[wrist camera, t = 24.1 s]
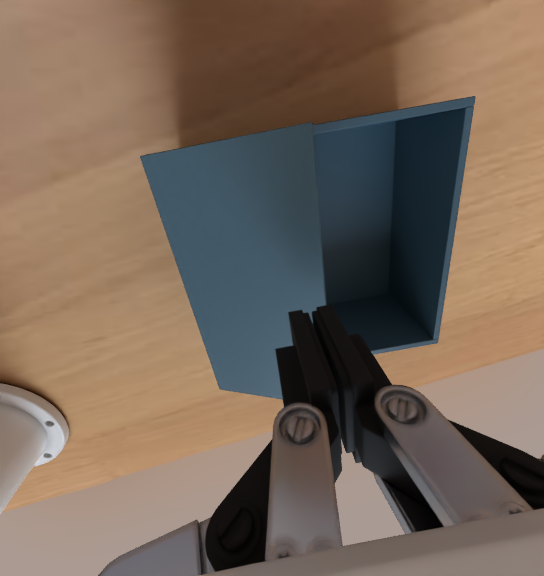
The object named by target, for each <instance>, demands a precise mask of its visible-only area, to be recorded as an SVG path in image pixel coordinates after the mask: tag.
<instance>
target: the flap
mask: <svg viewBox="0 0 544 576" xmlns="http://www.w3.org/2000/svg"><path fill="white" fill-rule="evenodd" d="M140 158H141V161H142V164H143V167H144V170H145V173H146V176H147V179H148V182H149V184H150V187H151V190H152V193H153V196H154V199H155V202H156V205H157V208H158V211H159V214H160V217H161V219H162V222H163V225H164V228H165V231H166V234H167V237H168V240H169V243H170V246H171V249H172V252H173V254H174V257H175V260H176V263H177V266H178V269H179V272H180V275H181V278H182V281H183V284H184V287H185V289H186V292H187V295H188V298H189V301H190V304H191V307H192V310H193V313H194V316H195V319H196V322H197V324H198V327H199V330H200V333H201V336H202V339H203V342H204V345H205V348H206V351H207V354H208V357H209V359H210V362H211V365H212V368H213V371H214V374H215V377H216V380H217V383H218V386H219V389H221V390H227V391H233V392H239V393H246V394H252V395H258V396H264V397H270V398H277V399H283V397H282V390H281V384H280V377H279V371H278V364H277V358H276V351H275V349H276V348H282V347H287V346H293V342H292V335H291V329H290V322H289V315H288V312H291V311H297V310H302V311H303V313H306V312H308V313H309V316H310V318H311V321H312V323H313V320H312V311H316V308H317V307H319V306H324V305H327V302H326V289H325V276H324V263H323V250H322V237H321V224H320V211H319V198H318V185H317V172H316V159H315V146H314V132H313V123H312V122H309V123H304V124H299V125H294V126H289V127H284V128H279V129H274V130H269V131H264V132H259V133H254V134H249V135H244V136H239V137H234V138H229V139H224V140H219V141H214V142H209V143H204V144H199V145H194V146H189V147H184V148H179V149H174V150H169V151H164V152H159V153H154V154H149V155H144V156H140Z"/></svg>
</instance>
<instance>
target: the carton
mask: <svg viewBox="0 0 544 576" xmlns="http://www.w3.org/2000/svg"><path fill="white" fill-rule="evenodd" d="M474 103H475V96H472V97H467V98H461V99H455V100H450V101H444V102H439V103H433V104H427V105H422V106H416V107H411V108H405V109H399V110H394V111H388V112H382V113H377V114H371V115H366V116H360V117H354V118H349V119H343V120H338V121H332V122H326V123H321V124H315V125H313V132H314V146H315V159H316V172H317V185H318V198H319V211H320V224H321V237H322V250H323V263H324V276H325V289H326V302H327V305H332V307H333V309H334V311H335V312H336V314H337V316H338V318H339V319H340V321H341V323H342V325H343V326H344V328H345V330H346V332H347V333H348V335H353V334H360V335H361V337H362V338H363V340H364V341H365V343H366V344H367V346H368V348H369V349H370V351H371V352H372V354H379V353H385V352H390V351H396V350H402V349H407V348H413V347H419V346H424V345H430V344H436V343H438V338H439V333H440V326H441V319H442V313H443V306H444V300H445V293H446V287H447V280H448V274H449V267H450V260H451V254H452V247H453V241H454V234H455V228H456V221H457V214H458V208H459V201H460V195H461V188H462V182H463V175H464V169H465V162H466V155H467V149H468V142H469V136H470V129H471V123H472V116H473V110H474ZM163 152H164V151H163ZM158 153H159V152H158ZM152 154H154V153H152ZM147 155H149V154H147Z"/></svg>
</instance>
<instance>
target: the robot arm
mask: <svg viewBox="0 0 544 576" xmlns="http://www.w3.org/2000/svg"><path fill="white" fill-rule="evenodd" d="M288 315H289V322H290V329H291V335H292V342H293V346H287V347H282V348H276V349H275V351H276V358H277V364H278V371H279V377H280V384H281V390H282V397H283V403H284V408H283V409H282V410H281V411H279V413H278V414H277V416H276V418H275V420H274V425H273V438H272V440H271V441H270V443H269V444H268V445H267V446H266V448H265V449H264V450H263V451H262V453H261V454H260V455H259V457H258V458H257V459H256V460H255V461H254V463H253V464H252V465H251V467H250V468H249V469H248V470H247V471H246V473H245V474H244V475H243V476H242V478H241V479H240V480H239V482H238V483H237V484H236V485H235V487H234V488H233V489H232V490H231V492H230V493H229V494H228V495H227V496H226V498H225V499H224V500H223V501H222V503H221V504H220V505H219V506H218V508H217V509H216V510H215V512H214V514H213V515H212V517H211V518H208V519H206V520H204V521H202V522H200V523H199V522H198V520H195V521H193V522H191V523H189V524H187V525H185V526H182V527H180V528H178V529H176V530H174V531H172V532H169V533H167V534H165V535H163V536H161V537H159V538H157V539H155V540H153V541H150V542H148V543H146V544H144V545H142V546H140V547H138V548H135V549H133V550H131V551H129V552H127V553H125V554H123V555H121V556H119V557H118V558H116V559H115V560H113V561H112V562H110V563H109V564H108V565H107V566H106V567H105V568H104V570H103V571H102V572H101V573H100V574H99V575H98V576H544V455H542V458H541V459H537V458H535V457H533V456H531V455H529V454H527V453H525V452H523V451H521V450H519V449H517V448H514V447H512V446H509V445H507V444H505V443H502V442H499V441H497V440H495V439H493V438H490V437H488V436H485V435H483V434H481V433H478V432H476V431H474V430H471V429H469V428H466V427H464V426H462V425H459V424H457V423H455V422H452V421H450V420H447V419H446V418H445V417H444V416H443V415H442V413H441V412H440V411H438V409H437V408H436V407H435V406H434V405H433V404H432V403H431V402H430V401H429V400H428V399H427V398H426V397H425V396H424V395H422V394H421V393H420V392H419V391H417V390H415V389H413V388H411V387H407V386H403V385H392V384H391V382H390V381H389V379H388V378H387V376H386V374H385V373H384V371H383V370H382V368H381V367H380V365H379V363H378V362H377V360H376V359H375V357H374V355H373V354H372V352H371V351H370V349H369V348H368V346H367V344H366V343H365V341H364V340H363V338H362V337H361V335H360V334H353V335H348V333H347V332H346V330H345V328H344V326H343V325H342V323H341V321H340V319H339V318H338V316H337V314H336V312H335V311H334V309H333V307H332V305H324V306H319V307H317V308H316V311H312V320H313V323H312V321H311V318H310V316H309V313H308V312H306V313H303V311H302V310H297V311H291V312H288ZM68 436H69V429H68V425H67V423H66V420H65V419H64V417H63V416H62V414H61V413H60V412H59V411H58V410H57V409H56V408H55V407H54V406H53V405H52V404H50V403H49V402H48V401H46V400H45V399H43V398H41V397H40V396H38V395H36V394H34V393H32V392H29V391H27V390H24V389H22V388H19V387H15V386H11V385H7V384H1V383H0V514H1V513H2V512H3V510H4V509H5V507H6V506H7V504H8V503H9V501H10V500H11V498H12V497H13V495H14V494H15V492H16V491H17V489H18V488H19V487H20V485H21V484H22V482H23V481H24V479H25V478H26V476H27V475H28V473H29V472H30V470H31V469H32V467H34V466H38V465H42V464H44V463H46V462H49V461H51V460H52V459H54V458H55V457H56V456H57V455H58V454H59V453H60V452H61V451H62V449H63V447H64V446H65V444H66V443H67V440H68ZM341 439H342V442H343V445H344V448H345V451H346V453H350V452H352V453H353V456H354V459H355V462H356V463H359V462H362V465H363V466H364V467H365V468H367V469H369V470H370V471H372V472H373V473H374V477H375V479H376V482H377V484H378V485H379V487H380V489H381V491H382V492H383V494H384V496H385V498H386V500H387V501H388V504H389V505H390V507H391V509H392V511H393V513H394V514H395V516H396V518H397V520H398V521H399V523H400V525H401V527H402V529H403V531H404V532H405V534H404V535H399V536H393V537H388V538H383V539H378V540H372V541H368V542H362V543H357V544H352V545H347V546H343V545H342V539H341V538H342V537H341V531H340V522H339V514H338V507H337V499H336V491H335V482H336V480H337V478H338V477H339V475H340V473H341V471H342V464H341V454H342V447H341Z"/></svg>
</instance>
